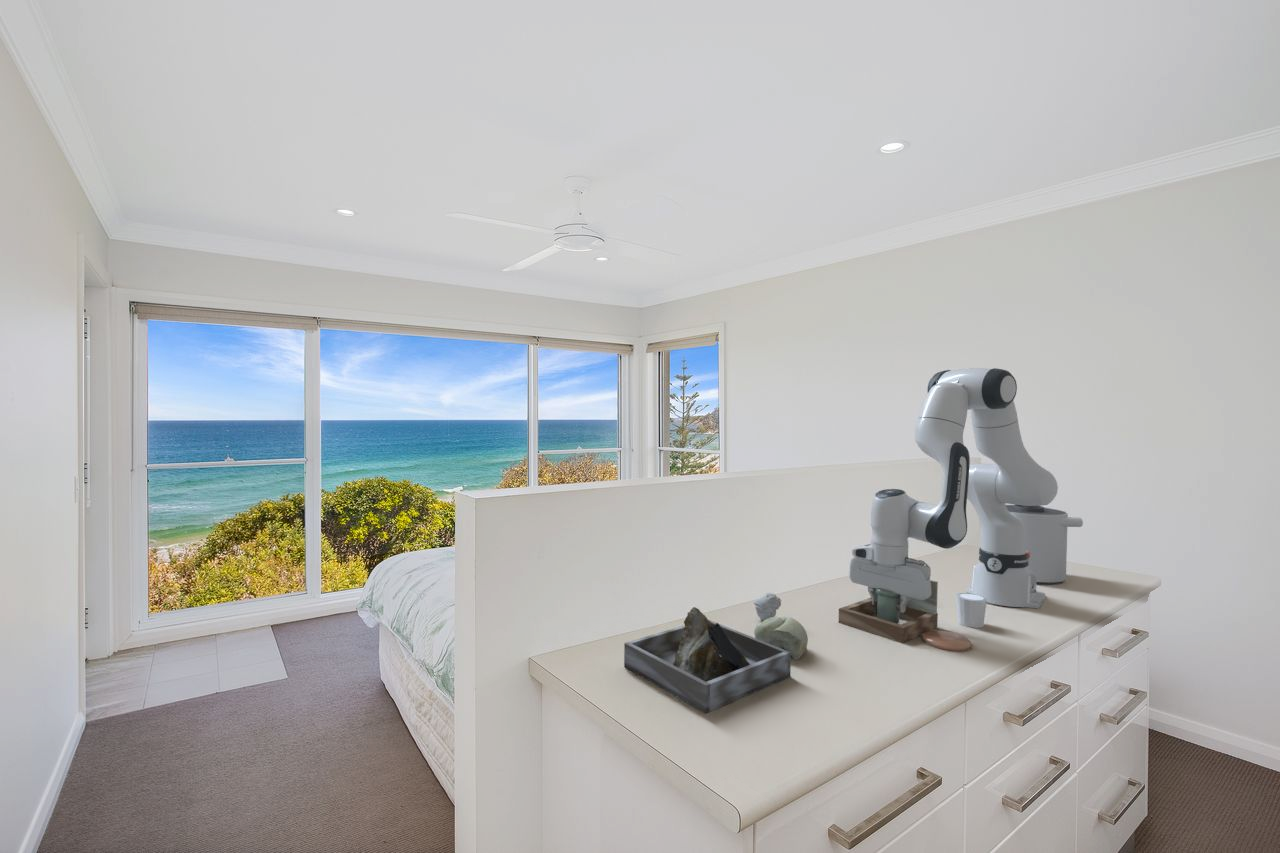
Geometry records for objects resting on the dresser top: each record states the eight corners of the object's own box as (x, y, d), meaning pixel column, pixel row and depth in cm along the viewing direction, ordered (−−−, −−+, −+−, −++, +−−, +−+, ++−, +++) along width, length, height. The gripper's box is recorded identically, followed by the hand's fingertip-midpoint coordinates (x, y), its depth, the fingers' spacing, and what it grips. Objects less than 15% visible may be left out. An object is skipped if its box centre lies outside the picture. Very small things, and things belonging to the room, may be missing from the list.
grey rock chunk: (781, 625, 148) (781, 598, 148) (752, 623, 150) (753, 595, 149) (781, 617, 154) (781, 591, 154) (753, 615, 155) (754, 588, 155)
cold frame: (874, 608, 161) (875, 567, 161) (937, 627, 148) (938, 581, 148) (838, 622, 151) (839, 577, 150) (903, 643, 137) (904, 594, 137)
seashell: (746, 615, 134) (775, 601, 140) (746, 647, 135) (774, 632, 141) (792, 637, 124) (821, 621, 130) (792, 672, 126) (820, 654, 132)
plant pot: (883, 614, 154) (883, 583, 153) (905, 621, 149) (906, 589, 149) (870, 619, 150) (871, 588, 150) (893, 626, 145) (893, 593, 145)
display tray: (706, 640, 138) (706, 618, 138) (790, 676, 119) (790, 652, 119) (624, 666, 123) (624, 643, 123) (705, 713, 104) (706, 685, 104)
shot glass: (990, 629, 147) (991, 601, 146) (960, 627, 148) (961, 599, 148) (980, 620, 153) (981, 593, 153) (951, 618, 155) (952, 591, 155)
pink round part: (934, 631, 145) (934, 627, 145) (978, 644, 137) (978, 639, 137) (914, 640, 139) (914, 636, 139) (959, 654, 131) (959, 650, 131)
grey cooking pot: (1043, 568, 206) (1045, 502, 205) (1082, 586, 185) (1085, 512, 184) (978, 566, 208) (980, 500, 207) (1010, 583, 187) (1012, 510, 186)
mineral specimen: (770, 646, 125) (743, 619, 113) (747, 719, 119) (715, 700, 107) (714, 626, 133) (683, 600, 121) (690, 695, 127) (655, 674, 115)
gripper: (936, 560, 143) (935, 616, 143) (859, 544, 159) (859, 595, 159) (924, 564, 139) (923, 622, 139) (846, 548, 155) (845, 600, 155)
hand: (888, 608), depth 149 cm, fingers closed on plant pot, 5 cm apart
